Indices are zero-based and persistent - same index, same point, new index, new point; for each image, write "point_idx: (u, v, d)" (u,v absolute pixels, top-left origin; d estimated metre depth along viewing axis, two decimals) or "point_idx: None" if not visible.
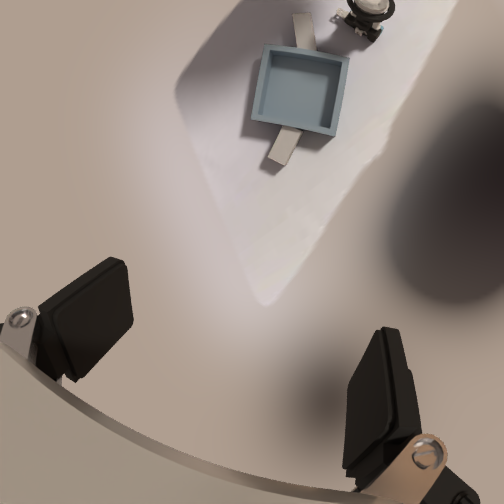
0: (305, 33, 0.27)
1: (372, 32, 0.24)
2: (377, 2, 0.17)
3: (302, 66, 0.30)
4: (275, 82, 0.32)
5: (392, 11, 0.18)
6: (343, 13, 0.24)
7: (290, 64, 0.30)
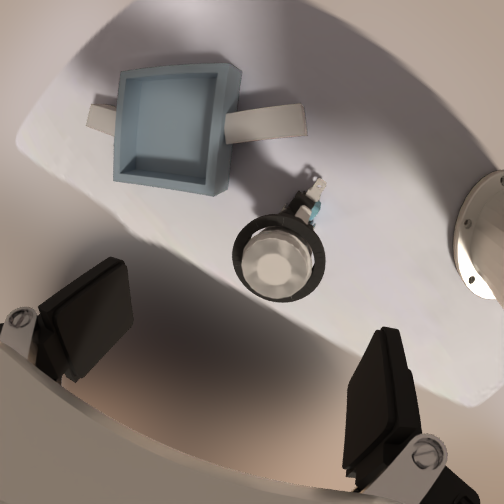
0: (257, 125, 0.19)
1: None
2: (261, 277, 0.15)
3: (211, 122, 0.22)
4: (184, 88, 0.21)
5: (260, 294, 0.17)
6: (314, 191, 0.21)
7: (213, 104, 0.21)
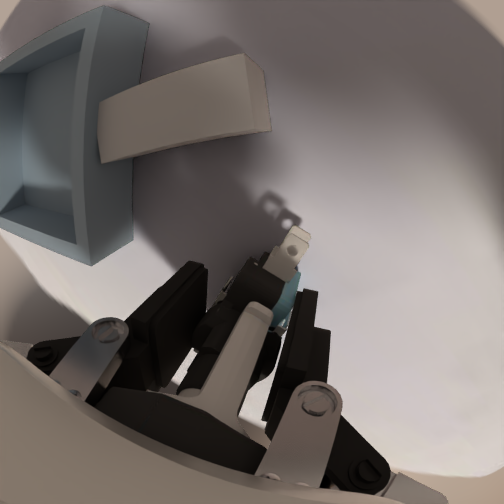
0: (150, 117, 0.08)
1: None
2: None
3: None
4: (66, 71, 0.10)
5: None
6: (281, 259, 0.10)
7: None
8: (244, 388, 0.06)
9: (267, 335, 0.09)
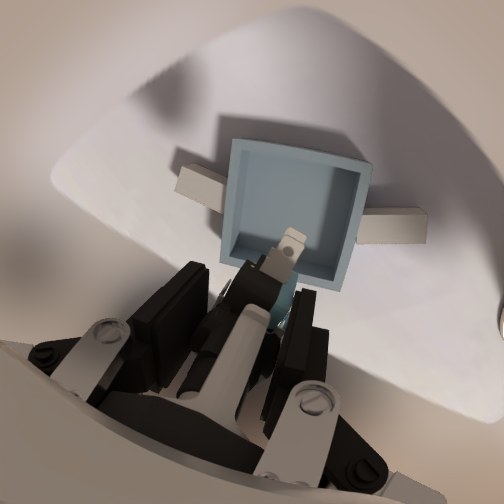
0: (388, 231, 0.20)
1: None
2: None
3: (334, 213, 0.23)
4: (306, 169, 0.22)
5: None
6: (278, 260, 0.10)
7: (338, 195, 0.22)
8: (242, 390, 0.06)
9: (266, 337, 0.09)
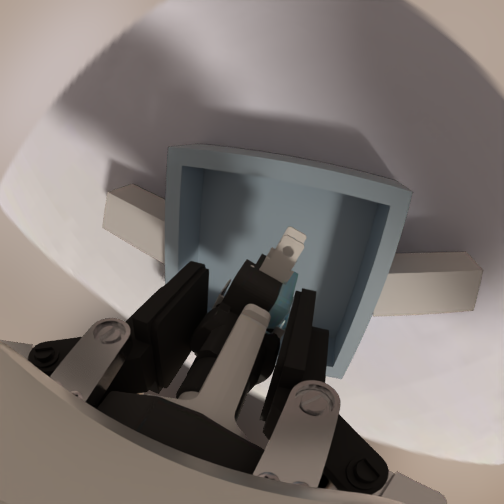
0: (424, 296, 0.12)
1: None
2: None
3: (340, 263, 0.14)
4: (295, 194, 0.14)
5: None
6: (278, 260, 0.10)
7: (347, 235, 0.14)
8: (241, 390, 0.06)
9: (266, 337, 0.09)
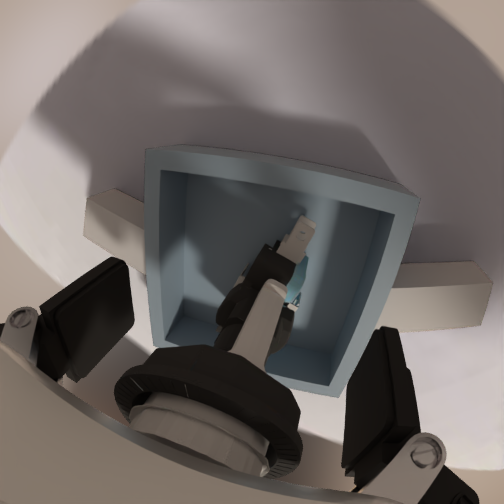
0: (429, 312, 0.11)
1: None
2: None
3: (337, 275, 0.13)
4: (288, 199, 0.12)
5: None
6: (292, 243, 0.11)
7: (346, 245, 0.12)
8: (268, 345, 0.08)
9: (282, 309, 0.11)
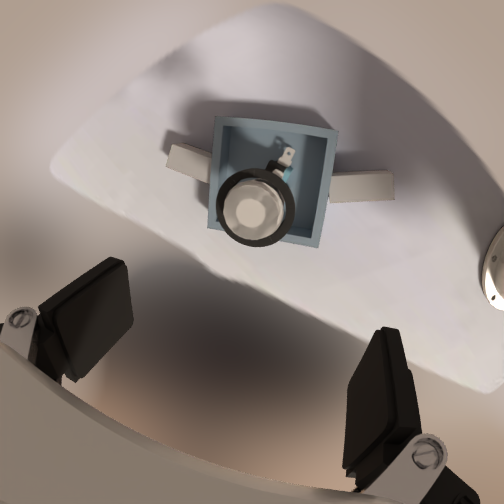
0: (358, 189, 0.23)
1: None
2: (241, 221, 0.18)
3: (308, 178, 0.25)
4: (281, 141, 0.25)
5: (243, 242, 0.19)
6: (284, 157, 0.24)
7: (311, 161, 0.25)
8: None
9: None
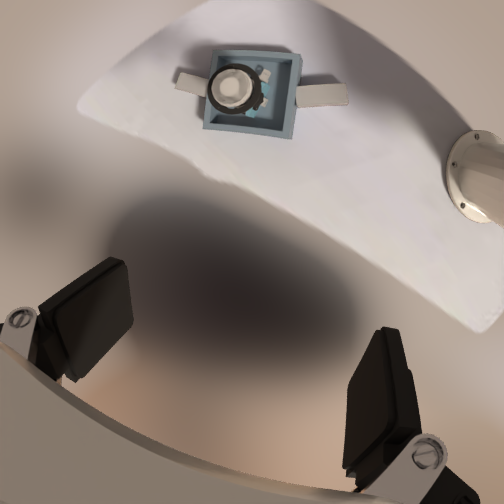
0: (318, 95, 0.28)
1: None
2: (223, 92, 0.23)
3: (282, 92, 0.30)
4: (261, 68, 0.29)
5: (225, 111, 0.24)
6: (262, 76, 0.28)
7: (283, 81, 0.29)
8: (252, 80, 0.25)
9: None
